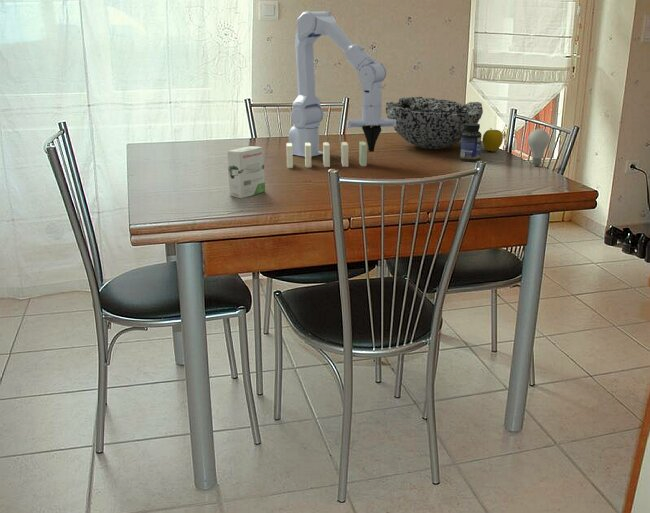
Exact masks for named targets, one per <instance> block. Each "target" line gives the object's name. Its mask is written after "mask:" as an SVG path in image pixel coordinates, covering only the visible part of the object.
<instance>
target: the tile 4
mask: <svg viewBox="0 0 650 513" xmlns="http://www.w3.org/2000/svg"><path fill="white" fill-rule="evenodd" d="M340 158H341V160H340V164H341V165H342V167H343V168H345V167H349V144H348V142H347V141H340Z"/></svg>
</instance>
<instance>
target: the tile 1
mask: <svg viewBox="0 0 650 513" xmlns="http://www.w3.org/2000/svg"><path fill="white" fill-rule="evenodd" d="M285 147H286V167H287V169H293V168H294V160H293V152H292V143H289V142H286V145H285Z"/></svg>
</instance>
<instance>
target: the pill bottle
mask: <svg viewBox="0 0 650 513" xmlns="http://www.w3.org/2000/svg"><path fill="white" fill-rule="evenodd" d="M480 126H481V124H480V123H478V124H477V123H466V124H464V129H465V131H464V132H462V134H461V141H460V152H459V153H460V154H459V158H460V160H461V161H462V162H463V161H464V162H473V163H474V162H479V161H480V160H481V152H482V151H481V149H482V133H481V132H480V129H481V128H480Z"/></svg>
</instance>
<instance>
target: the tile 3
mask: <svg viewBox="0 0 650 513" xmlns="http://www.w3.org/2000/svg"><path fill="white" fill-rule="evenodd" d="M330 146H331V145H330V143H329V141H327V142H322V152H323V154H322V165H323V167H324V168H330V167H331V163H330V162H331V156H330V155H331V153H330V152H331V150H330V149H331V148H330Z"/></svg>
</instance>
